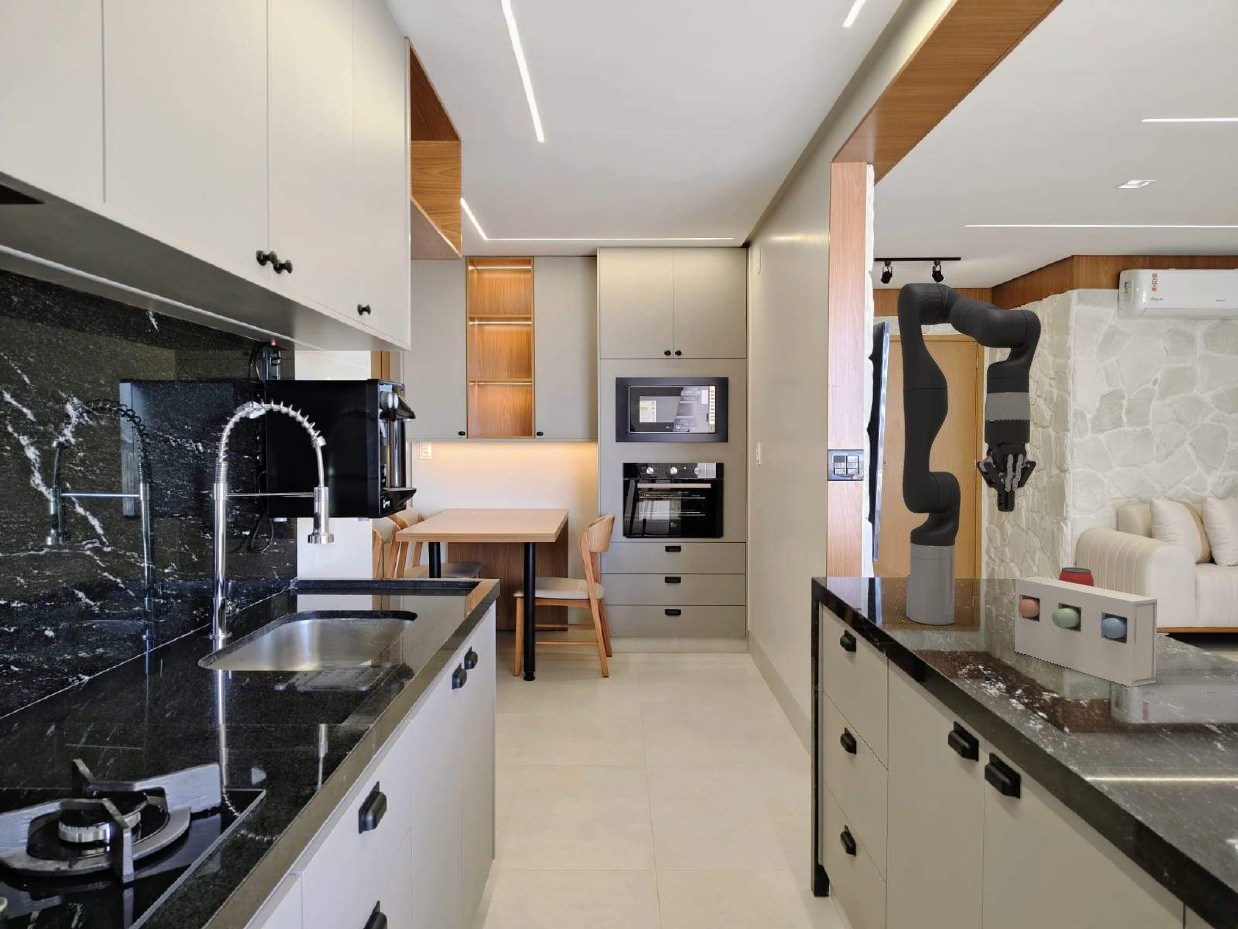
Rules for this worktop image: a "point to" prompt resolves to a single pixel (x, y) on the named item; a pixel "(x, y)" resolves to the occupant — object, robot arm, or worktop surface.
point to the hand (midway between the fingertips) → (1005, 511)
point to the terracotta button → (1030, 607)
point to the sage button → (1067, 617)
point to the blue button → (1114, 627)
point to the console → (1089, 630)
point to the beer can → (1077, 576)
